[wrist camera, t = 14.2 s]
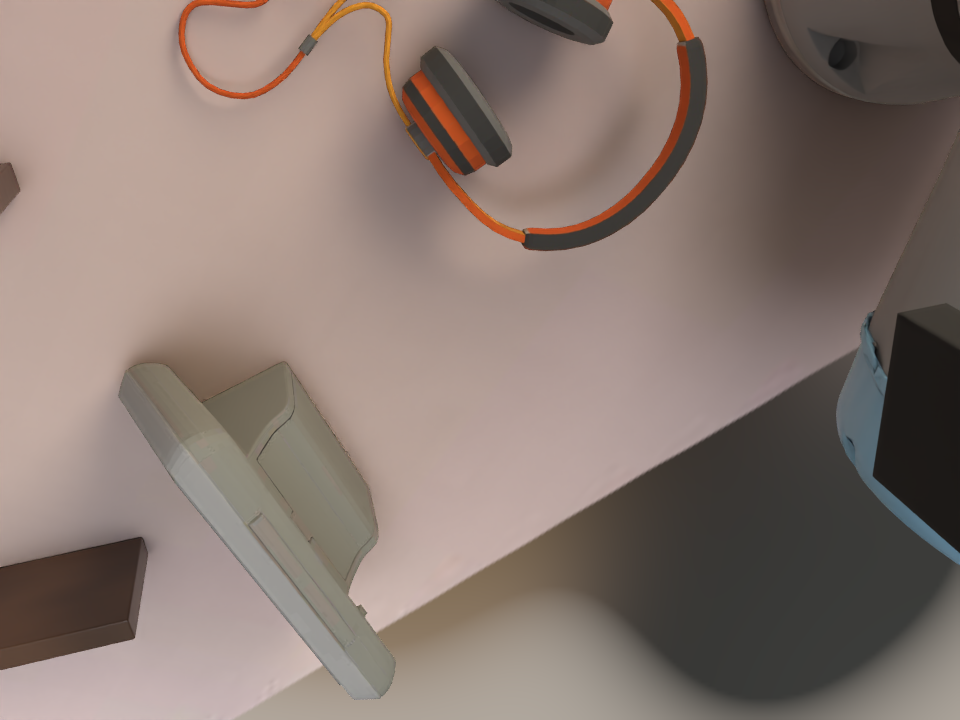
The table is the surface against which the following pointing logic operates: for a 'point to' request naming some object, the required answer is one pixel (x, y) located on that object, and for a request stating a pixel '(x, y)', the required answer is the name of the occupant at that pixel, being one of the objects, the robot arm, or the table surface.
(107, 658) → the table surface
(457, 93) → the headphones
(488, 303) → the table surface
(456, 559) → the table surface
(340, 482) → the digital clock
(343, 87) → the table surface
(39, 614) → the walnut rack
